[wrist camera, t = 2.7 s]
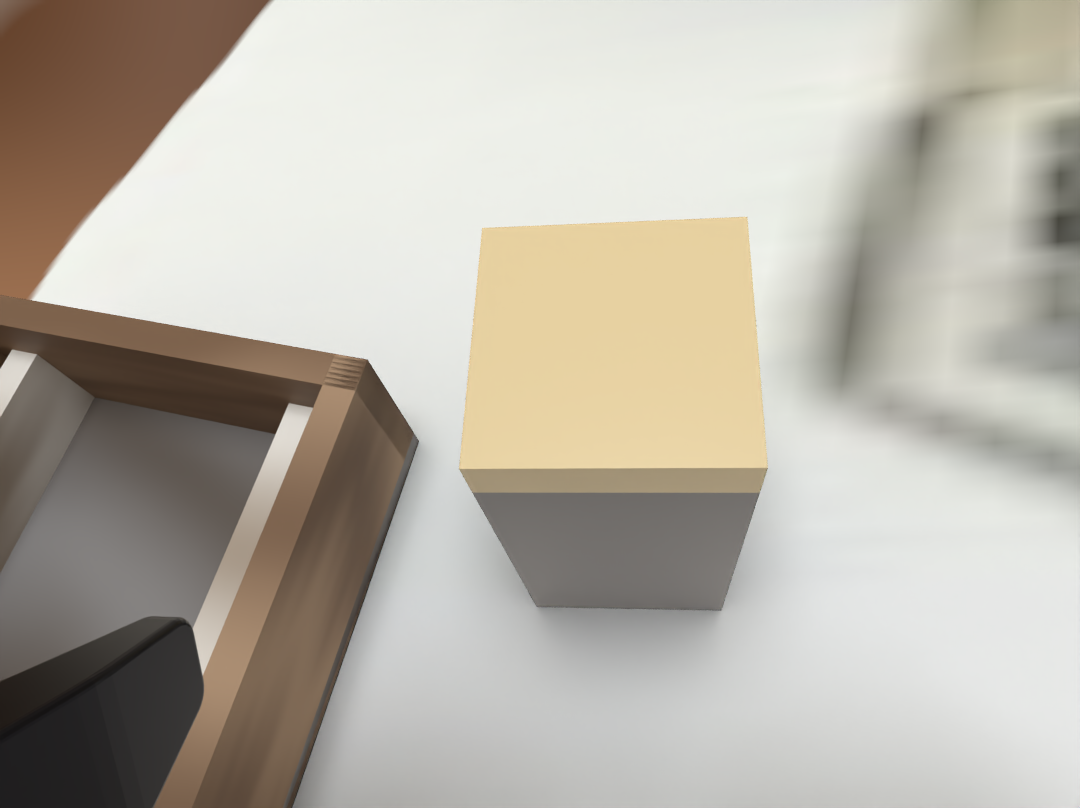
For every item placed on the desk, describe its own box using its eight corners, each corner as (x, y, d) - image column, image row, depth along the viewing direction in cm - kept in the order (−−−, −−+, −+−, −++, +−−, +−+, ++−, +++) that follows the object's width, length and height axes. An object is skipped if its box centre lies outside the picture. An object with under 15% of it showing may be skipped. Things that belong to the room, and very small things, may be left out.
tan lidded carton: (720, 610, 19) (767, 467, 11) (536, 607, 20) (458, 468, 12) (712, 440, 21) (747, 216, 13) (544, 441, 22) (482, 227, 14)
